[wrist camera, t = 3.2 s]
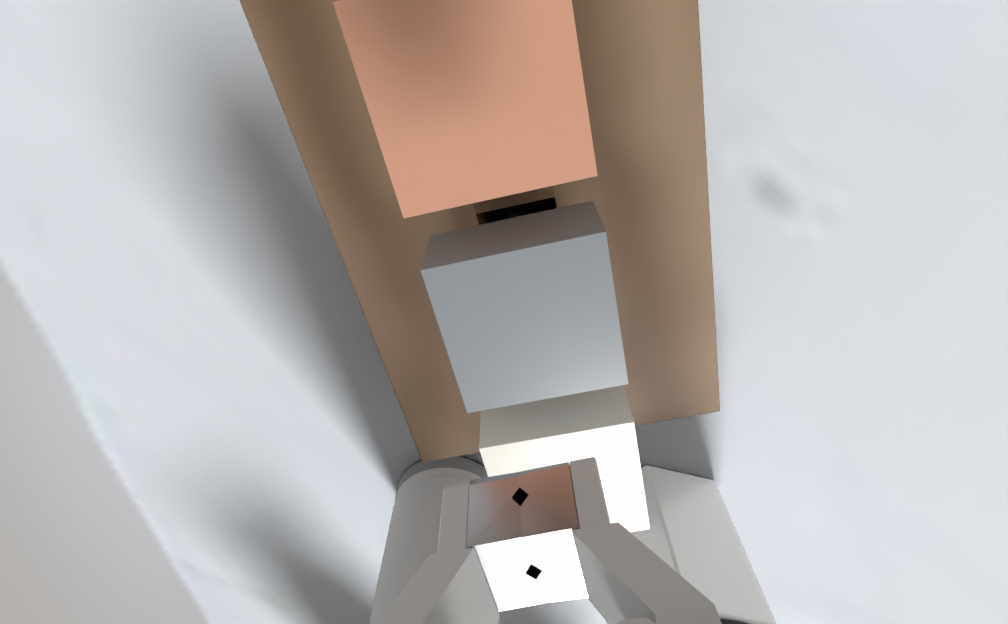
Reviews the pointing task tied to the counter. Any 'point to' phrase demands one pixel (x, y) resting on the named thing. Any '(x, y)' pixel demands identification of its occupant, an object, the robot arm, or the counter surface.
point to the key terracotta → (471, 96)
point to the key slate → (527, 306)
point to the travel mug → (416, 524)
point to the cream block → (572, 444)
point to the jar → (702, 543)
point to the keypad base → (615, 192)
